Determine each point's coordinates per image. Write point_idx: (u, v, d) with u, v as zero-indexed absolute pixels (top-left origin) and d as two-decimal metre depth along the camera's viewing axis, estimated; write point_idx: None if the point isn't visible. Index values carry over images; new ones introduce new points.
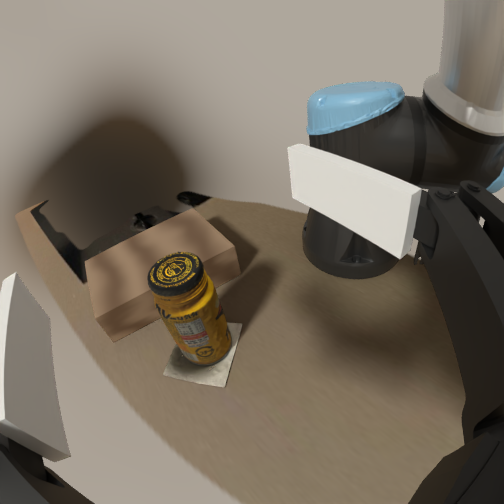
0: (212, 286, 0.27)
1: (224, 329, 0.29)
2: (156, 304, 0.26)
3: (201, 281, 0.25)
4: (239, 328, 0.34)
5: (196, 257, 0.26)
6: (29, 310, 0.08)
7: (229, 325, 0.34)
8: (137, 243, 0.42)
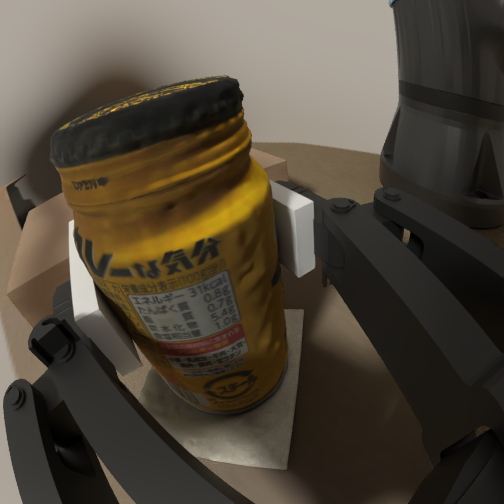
0: (263, 170, 0.08)
1: (283, 319, 0.11)
2: (75, 231, 0.07)
3: (238, 120, 0.06)
4: (299, 320, 0.15)
5: (216, 77, 0.07)
6: None
7: None
8: None
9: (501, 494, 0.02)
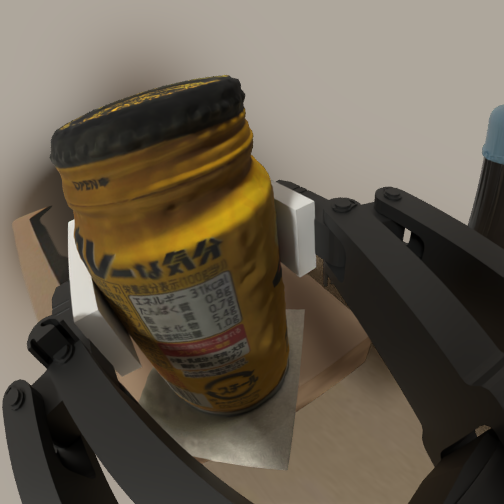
0: (264, 170, 0.08)
1: (284, 319, 0.11)
2: (76, 231, 0.07)
3: (240, 120, 0.06)
4: (299, 320, 0.15)
5: (217, 77, 0.07)
6: None
7: None
8: None
9: (501, 494, 0.02)
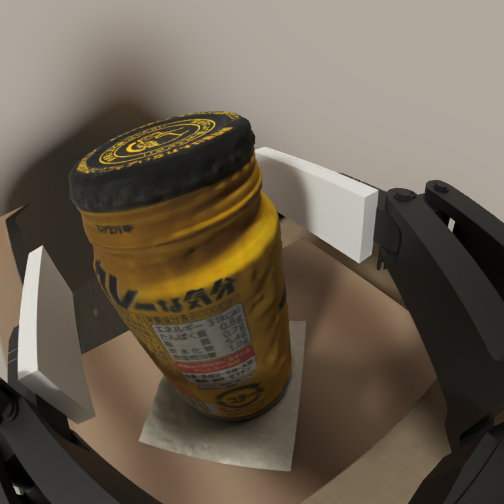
0: (272, 205, 0.09)
1: (288, 335, 0.11)
2: (96, 263, 0.08)
3: (251, 165, 0.07)
4: (301, 331, 0.16)
5: (227, 112, 0.08)
6: (55, 281, 0.09)
7: None
8: None
9: None
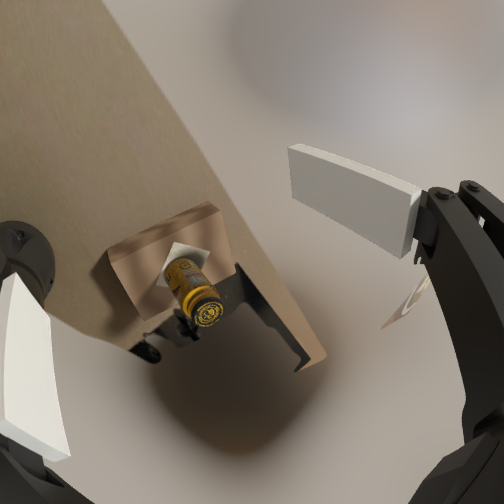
0: (184, 305, 0.41)
1: (172, 280, 0.45)
2: (217, 293, 0.44)
3: (192, 306, 0.40)
4: (158, 282, 0.48)
5: (195, 322, 0.40)
6: (29, 310, 0.08)
7: (164, 284, 0.49)
8: None
9: None
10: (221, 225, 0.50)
